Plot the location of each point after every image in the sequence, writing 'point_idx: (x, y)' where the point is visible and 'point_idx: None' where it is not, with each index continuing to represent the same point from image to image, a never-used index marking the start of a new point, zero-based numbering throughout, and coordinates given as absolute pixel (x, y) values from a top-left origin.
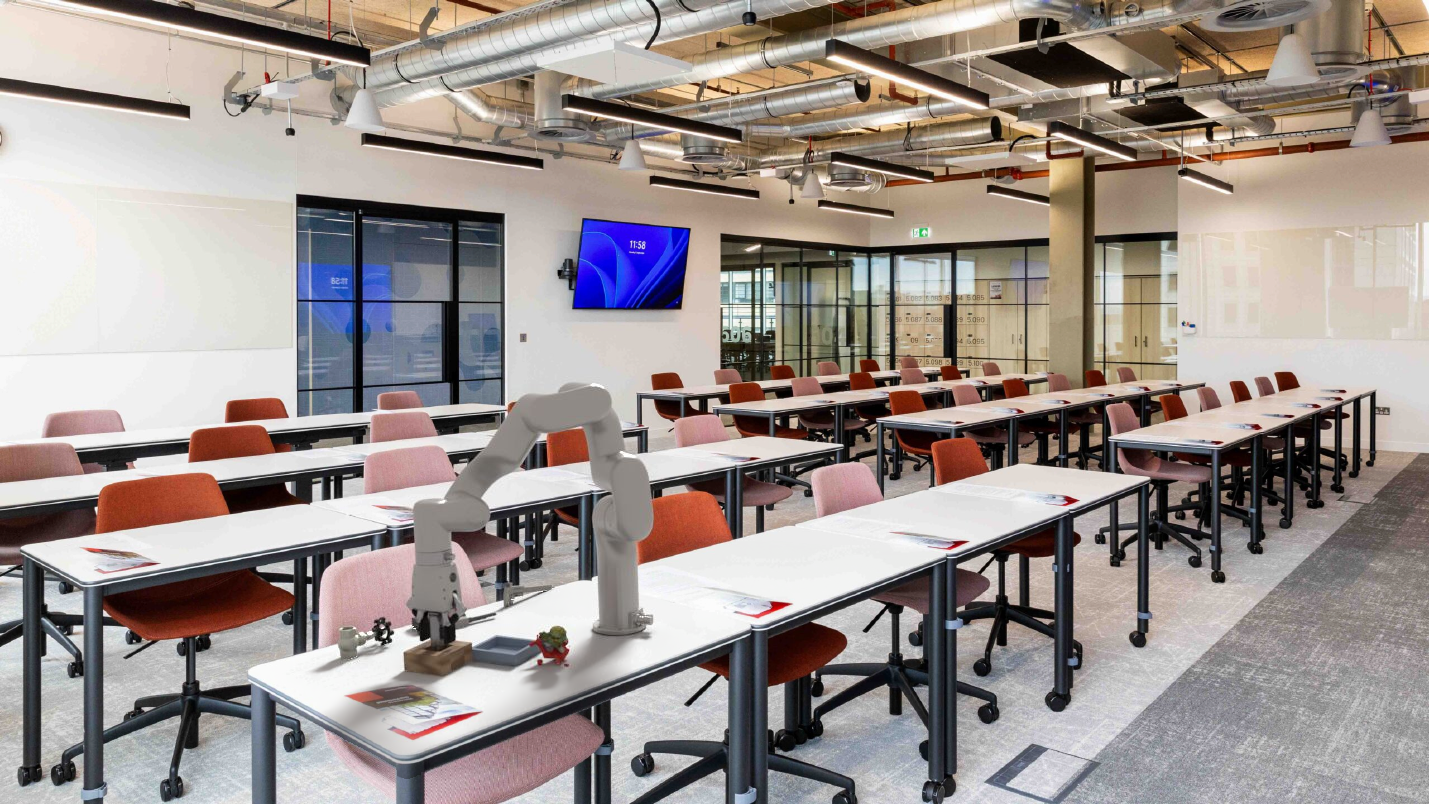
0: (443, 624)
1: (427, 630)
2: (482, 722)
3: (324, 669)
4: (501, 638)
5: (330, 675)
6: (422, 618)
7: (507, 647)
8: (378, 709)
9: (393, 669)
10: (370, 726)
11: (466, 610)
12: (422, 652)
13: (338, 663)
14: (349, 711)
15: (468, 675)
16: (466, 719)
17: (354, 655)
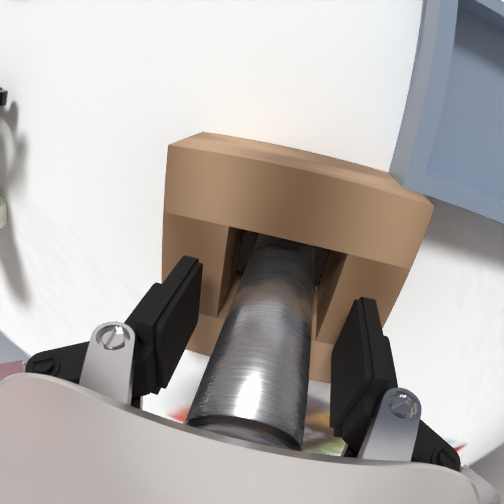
0: (307, 390)
1: (183, 321)
2: (463, 461)
3: (19, 290)
4: (478, 5)
5: (53, 323)
6: (137, 395)
7: (499, 45)
8: None
9: (147, 289)
10: None
11: (495, 490)
12: None
13: (9, 252)
14: None
15: (429, 321)
16: None
17: (1, 213)
